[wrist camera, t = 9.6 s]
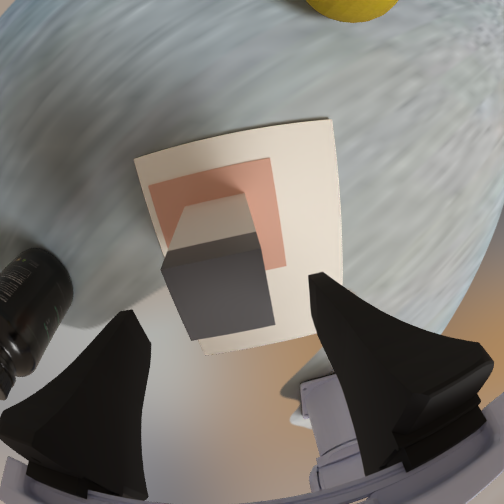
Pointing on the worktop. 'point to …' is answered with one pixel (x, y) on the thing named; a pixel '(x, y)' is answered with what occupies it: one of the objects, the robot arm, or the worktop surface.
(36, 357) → the supplement bottle
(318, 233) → the paper sheet
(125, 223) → the worktop surface
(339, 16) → the lemon
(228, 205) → the grey rectangular block
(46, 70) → the worktop surface
